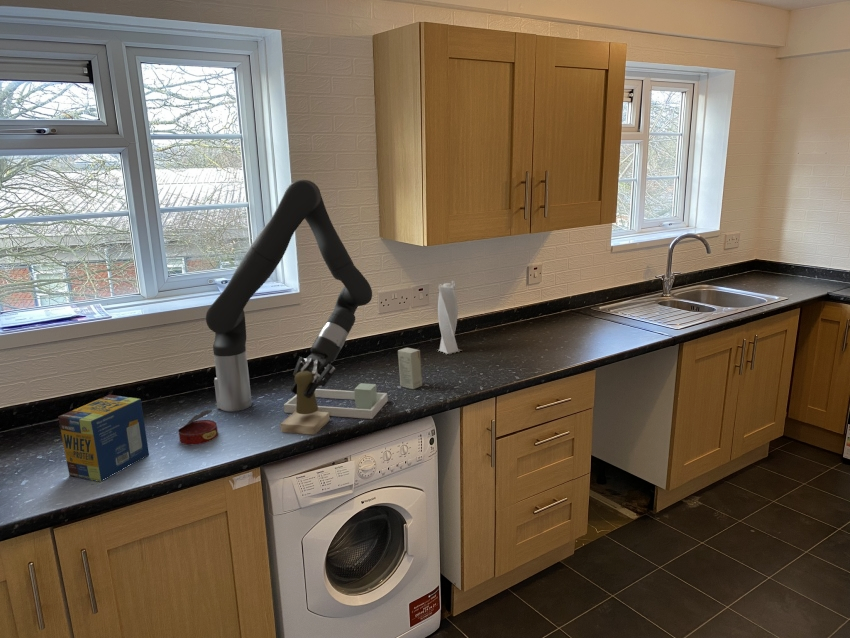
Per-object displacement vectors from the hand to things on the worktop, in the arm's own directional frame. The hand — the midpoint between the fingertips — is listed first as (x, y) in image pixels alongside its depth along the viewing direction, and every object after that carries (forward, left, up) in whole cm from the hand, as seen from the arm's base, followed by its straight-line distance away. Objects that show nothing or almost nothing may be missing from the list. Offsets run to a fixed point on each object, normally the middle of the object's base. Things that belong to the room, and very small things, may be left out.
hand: (300, 394), depth 170 cm
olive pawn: (+1, +2, -5) cm, 6 cm away
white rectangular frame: (+3, +16, -10) cm, 19 cm away
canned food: (-26, -11, -10) cm, 30 cm away
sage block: (+13, +16, -10) cm, 23 cm away
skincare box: (+20, +37, -10) cm, 43 cm away
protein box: (-38, -30, -10) cm, 49 cm away
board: (0, +1, -10) cm, 10 cm away
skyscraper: (+24, +76, -10) cm, 80 cm away
